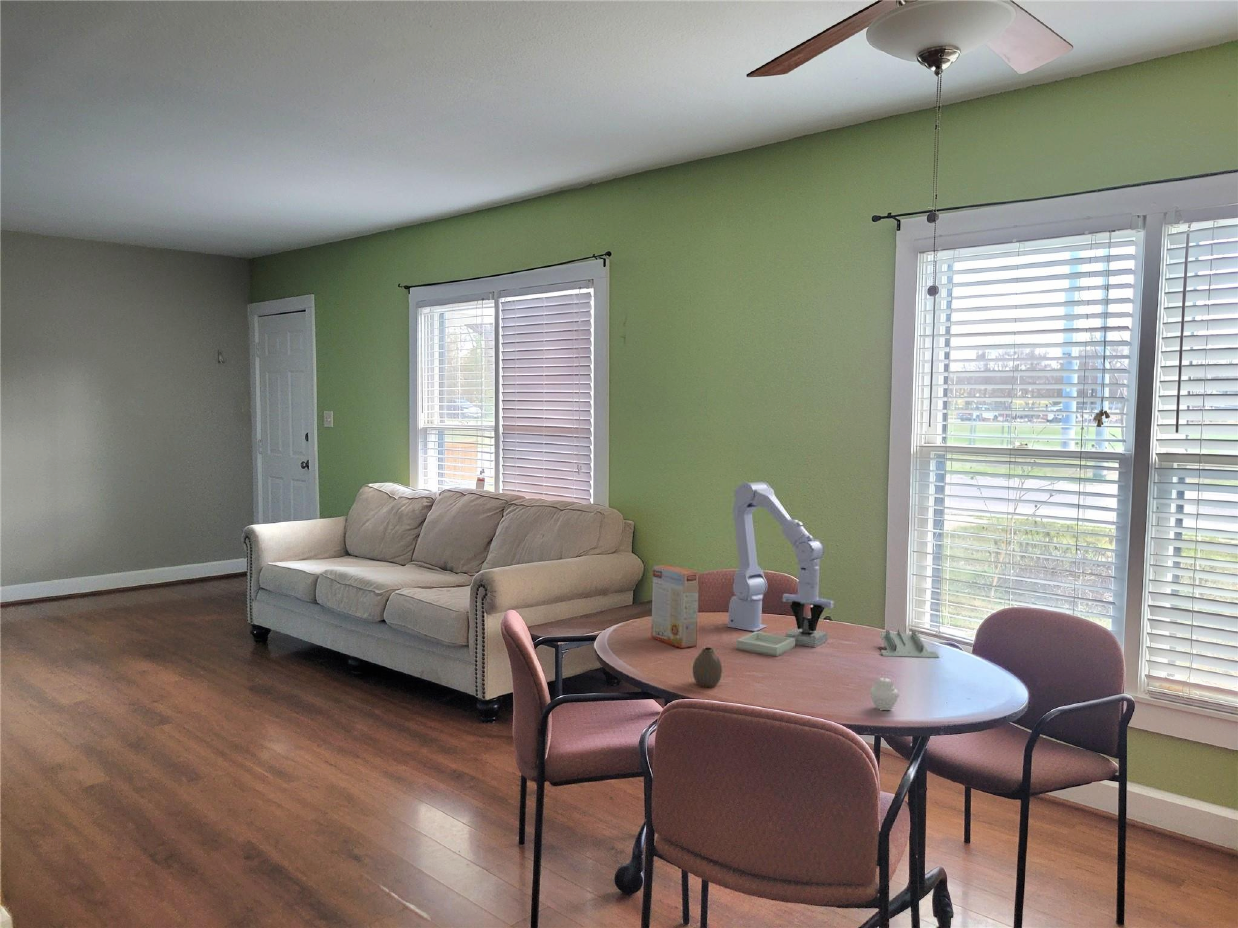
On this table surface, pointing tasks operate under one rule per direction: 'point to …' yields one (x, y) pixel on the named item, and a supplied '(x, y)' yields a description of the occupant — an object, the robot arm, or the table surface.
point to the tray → (766, 643)
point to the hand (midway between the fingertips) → (806, 629)
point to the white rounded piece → (884, 694)
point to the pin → (806, 625)
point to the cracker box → (675, 605)
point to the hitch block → (807, 637)
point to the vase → (707, 668)
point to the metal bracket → (905, 645)
